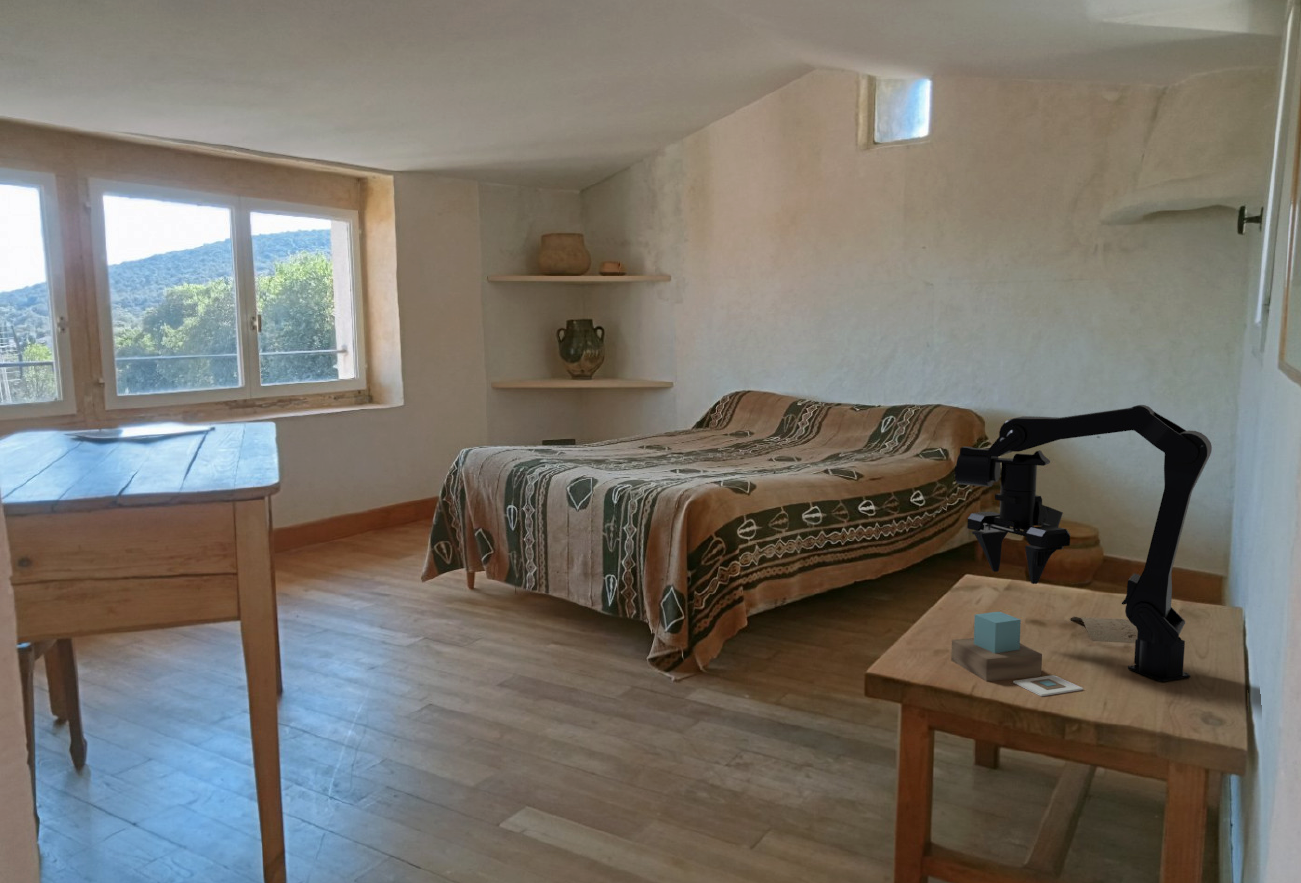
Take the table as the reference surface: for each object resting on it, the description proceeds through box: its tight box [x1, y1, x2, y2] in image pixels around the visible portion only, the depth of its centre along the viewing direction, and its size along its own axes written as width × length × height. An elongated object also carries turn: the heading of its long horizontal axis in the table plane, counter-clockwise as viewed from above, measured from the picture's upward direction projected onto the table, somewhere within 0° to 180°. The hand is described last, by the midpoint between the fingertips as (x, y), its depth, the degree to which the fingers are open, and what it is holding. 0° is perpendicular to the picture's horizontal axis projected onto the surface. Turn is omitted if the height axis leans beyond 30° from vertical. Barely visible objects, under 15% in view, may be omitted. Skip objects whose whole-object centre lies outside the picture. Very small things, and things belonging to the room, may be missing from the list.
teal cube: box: [973, 611, 1022, 653], centre depth 150 cm, size 5×5×5 cm
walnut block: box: [950, 637, 1043, 682], centre depth 151 cm, size 10×10×4 cm
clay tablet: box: [1069, 616, 1138, 644], centre depth 170 cm, size 14×10×3 cm
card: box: [1013, 674, 1084, 697], centre depth 142 cm, size 6×8×1 cm
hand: (1014, 577), depth 160 cm, fingers open, 9 cm apart
